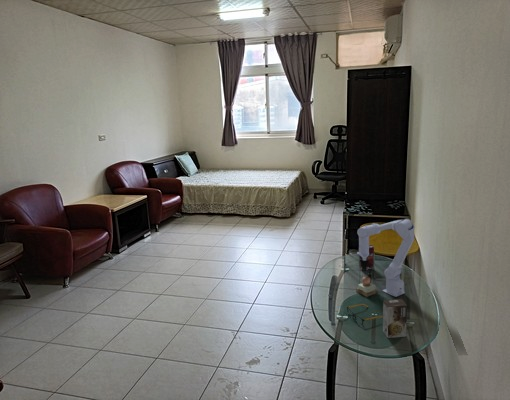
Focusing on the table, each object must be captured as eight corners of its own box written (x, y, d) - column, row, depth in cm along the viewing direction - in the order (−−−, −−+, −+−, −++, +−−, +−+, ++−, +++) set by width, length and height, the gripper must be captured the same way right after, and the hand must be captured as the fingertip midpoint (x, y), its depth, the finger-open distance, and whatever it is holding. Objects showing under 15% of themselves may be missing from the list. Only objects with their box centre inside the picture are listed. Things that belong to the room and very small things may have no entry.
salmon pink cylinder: (372, 284, 219) (371, 278, 219) (366, 287, 217) (366, 280, 216) (366, 282, 223) (365, 276, 222) (360, 284, 221) (360, 278, 220)
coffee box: (400, 329, 182) (401, 298, 179) (406, 336, 176) (407, 305, 173) (382, 330, 182) (382, 299, 179) (387, 338, 176) (388, 306, 172)
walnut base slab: (376, 293, 220) (376, 289, 219) (366, 297, 216) (366, 293, 215) (365, 288, 227) (365, 284, 226) (356, 292, 223) (356, 288, 222)
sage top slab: (375, 289, 219) (375, 285, 219) (366, 293, 216) (366, 288, 215) (366, 285, 225) (366, 281, 225) (357, 288, 222) (357, 284, 221)
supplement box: (360, 270, 251) (360, 247, 248) (359, 267, 256) (359, 245, 253) (373, 269, 251) (374, 247, 248) (371, 267, 256) (372, 244, 252)
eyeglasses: (345, 313, 200) (345, 306, 199) (368, 307, 205) (368, 300, 204) (361, 327, 187) (361, 319, 186) (386, 320, 192) (386, 313, 191)
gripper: (356, 241, 235) (356, 262, 238) (357, 250, 221) (357, 271, 224) (368, 242, 234) (368, 262, 237) (370, 250, 220) (369, 272, 223)
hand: (363, 267), depth 230 cm, fingers open, 7 cm apart
